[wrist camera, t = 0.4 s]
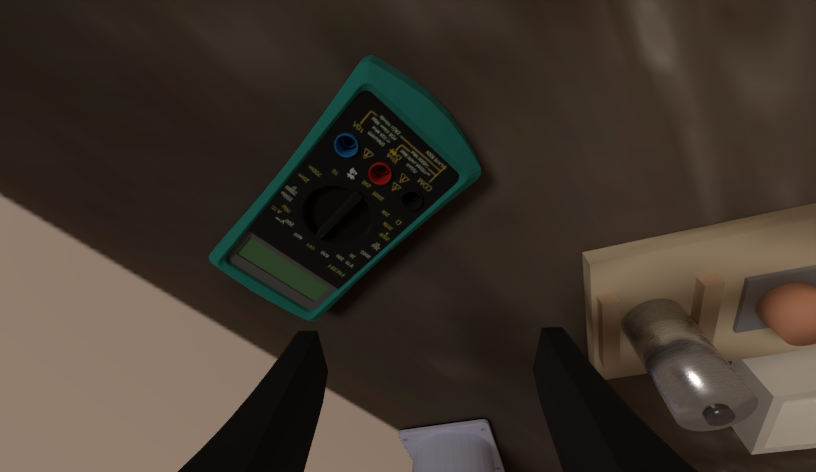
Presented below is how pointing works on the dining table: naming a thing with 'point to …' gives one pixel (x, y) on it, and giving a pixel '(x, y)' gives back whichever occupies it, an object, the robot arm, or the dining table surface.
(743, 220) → the beige button panel
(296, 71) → the dining table surface
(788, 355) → the tray
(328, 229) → the digital multimeter
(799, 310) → the test button
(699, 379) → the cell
